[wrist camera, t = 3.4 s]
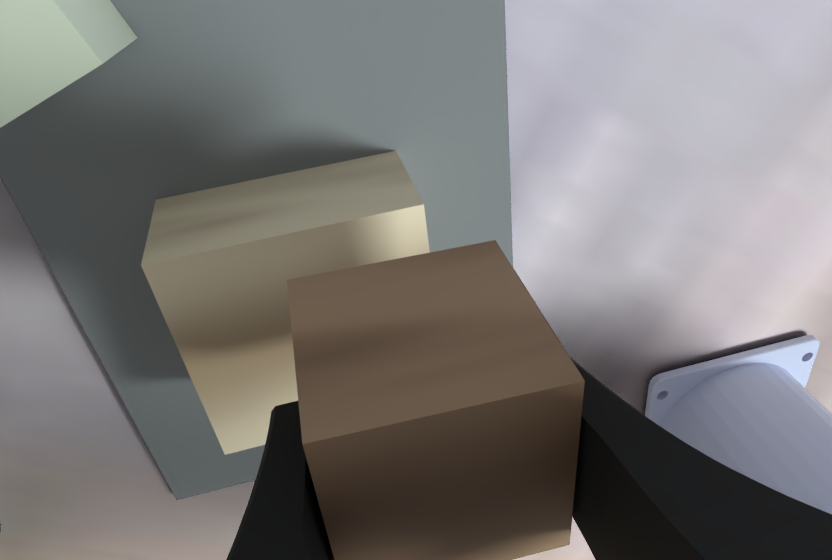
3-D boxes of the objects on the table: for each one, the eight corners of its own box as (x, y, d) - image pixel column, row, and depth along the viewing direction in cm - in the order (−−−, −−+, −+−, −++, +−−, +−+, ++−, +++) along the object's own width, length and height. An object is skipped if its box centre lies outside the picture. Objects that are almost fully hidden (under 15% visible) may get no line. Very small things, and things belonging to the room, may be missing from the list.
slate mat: (514, 406, 27) (517, 411, 27) (177, 493, 25) (176, 500, 25) (497, -79, 16) (501, -78, 16) (-81, 15, 15) (-86, 18, 15)
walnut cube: (497, 389, 16) (569, 544, 13) (323, 428, 16) (345, 602, 12) (495, 240, 14) (584, 380, 10) (286, 280, 13) (302, 444, 10)
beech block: (421, 330, 23) (447, 398, 20) (226, 377, 22) (224, 454, 19) (396, 150, 19) (423, 204, 16) (155, 199, 18) (141, 264, 15)
